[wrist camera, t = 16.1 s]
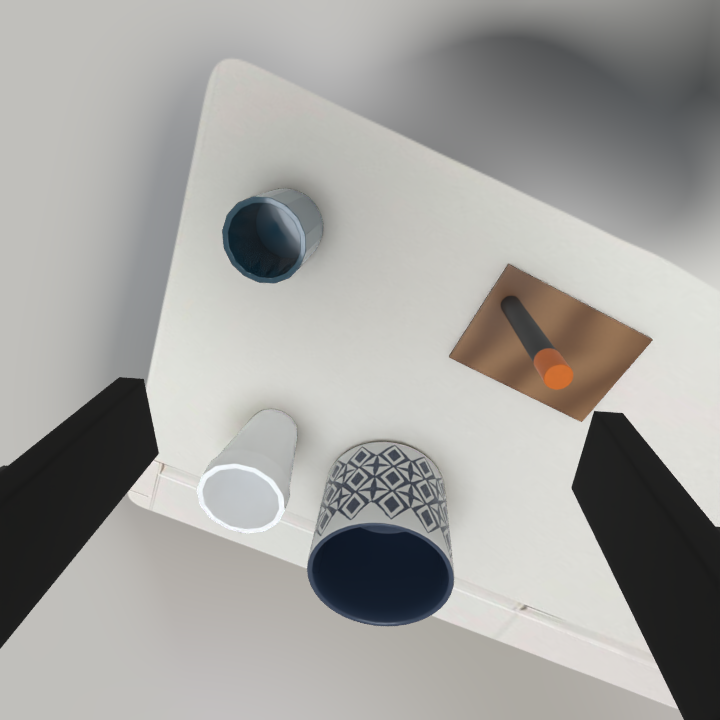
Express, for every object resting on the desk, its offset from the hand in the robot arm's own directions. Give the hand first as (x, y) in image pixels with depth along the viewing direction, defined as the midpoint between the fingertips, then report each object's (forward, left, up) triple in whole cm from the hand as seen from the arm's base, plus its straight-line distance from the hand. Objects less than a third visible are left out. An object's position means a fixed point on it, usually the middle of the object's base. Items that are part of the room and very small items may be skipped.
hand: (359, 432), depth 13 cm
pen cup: (0, -11, -37) cm, 38 cm away
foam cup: (+26, -14, -37) cm, 47 cm away
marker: (+7, +13, -36) cm, 39 cm away
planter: (+34, +1, -37) cm, 50 cm away
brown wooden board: (+12, +18, -37) cm, 43 cm away
